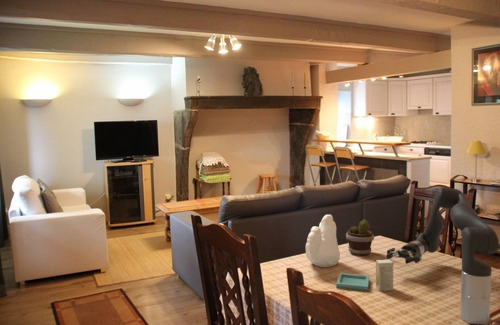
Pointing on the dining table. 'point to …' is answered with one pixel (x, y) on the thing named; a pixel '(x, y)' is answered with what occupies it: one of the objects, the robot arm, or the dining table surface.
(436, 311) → the dining table surface
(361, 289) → the teal tray
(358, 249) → the flowerpot
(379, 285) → the skincare box
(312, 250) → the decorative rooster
